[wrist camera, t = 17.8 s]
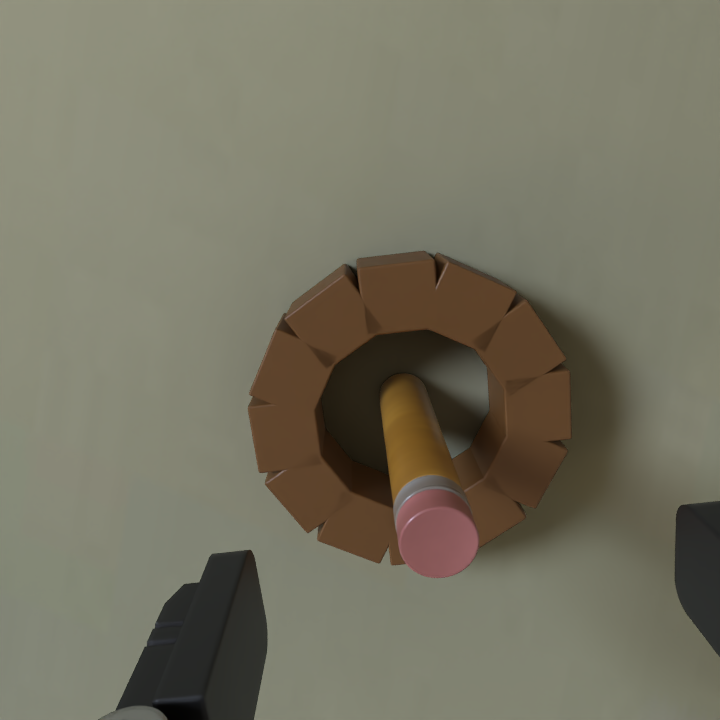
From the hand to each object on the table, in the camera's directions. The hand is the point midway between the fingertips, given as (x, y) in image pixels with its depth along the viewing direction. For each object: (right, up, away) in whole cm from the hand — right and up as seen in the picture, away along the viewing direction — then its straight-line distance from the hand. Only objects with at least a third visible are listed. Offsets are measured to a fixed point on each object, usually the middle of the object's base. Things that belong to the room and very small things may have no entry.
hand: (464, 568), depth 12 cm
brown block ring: (0, +3, +9) cm, 10 cm away
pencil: (0, +3, +9) cm, 10 cm away
